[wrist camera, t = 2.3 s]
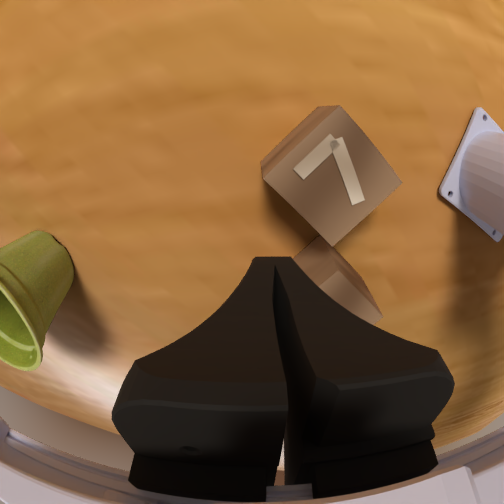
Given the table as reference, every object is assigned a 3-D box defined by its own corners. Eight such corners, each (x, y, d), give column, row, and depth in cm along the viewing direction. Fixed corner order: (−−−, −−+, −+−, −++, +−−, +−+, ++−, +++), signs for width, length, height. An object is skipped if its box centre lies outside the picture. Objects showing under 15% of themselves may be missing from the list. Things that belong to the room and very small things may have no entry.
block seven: (368, 164, 18) (403, 183, 13) (314, 213, 19) (332, 247, 15) (317, 106, 16) (340, 105, 12) (260, 161, 18) (263, 178, 13)
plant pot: (104, 308, 23) (61, 382, 15) (33, 303, 23) (-12, 360, 16) (74, 206, 19) (0, 260, 11) (2, 217, 19) (-61, 262, 11)
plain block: (360, 276, 21) (383, 316, 17) (312, 315, 23) (323, 360, 19) (320, 233, 20) (338, 270, 15) (268, 279, 22) (272, 323, 17)
